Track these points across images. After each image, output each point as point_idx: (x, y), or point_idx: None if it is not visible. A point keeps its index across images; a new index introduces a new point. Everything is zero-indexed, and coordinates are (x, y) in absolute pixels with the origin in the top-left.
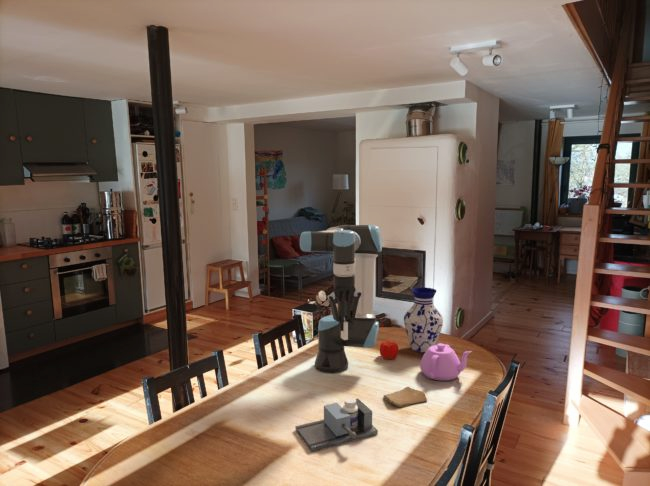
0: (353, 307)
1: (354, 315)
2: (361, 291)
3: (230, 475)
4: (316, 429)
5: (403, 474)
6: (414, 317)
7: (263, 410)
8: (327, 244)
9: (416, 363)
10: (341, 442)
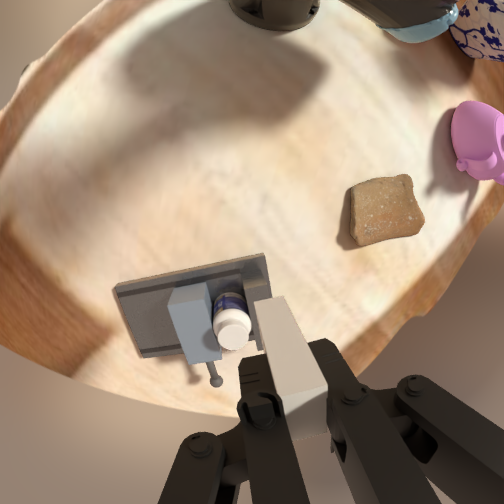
0: (454, 493)
1: (417, 440)
2: None
3: (48, 362)
4: (155, 308)
5: None
6: (502, 24)
7: (62, 185)
8: None
9: (448, 76)
10: None
